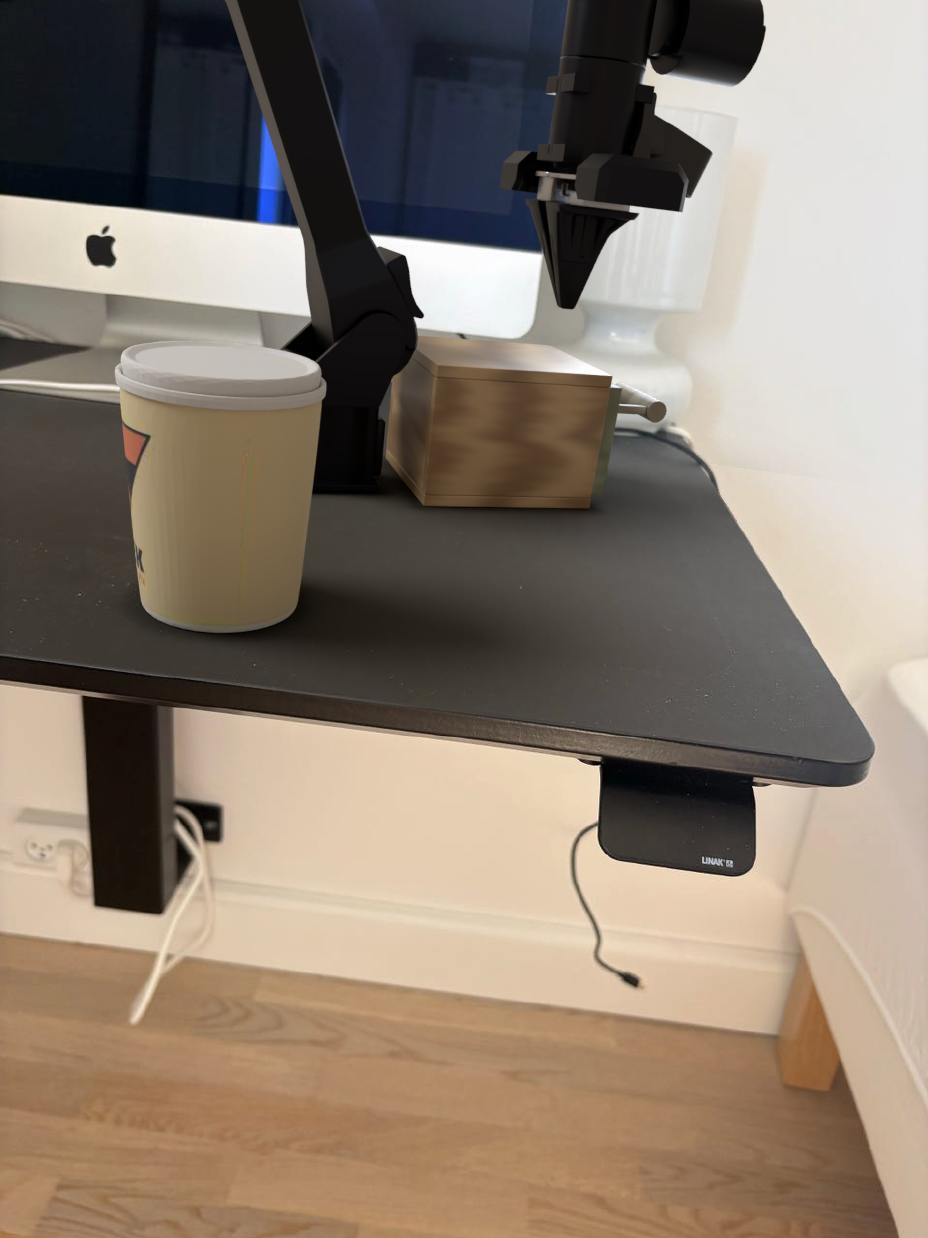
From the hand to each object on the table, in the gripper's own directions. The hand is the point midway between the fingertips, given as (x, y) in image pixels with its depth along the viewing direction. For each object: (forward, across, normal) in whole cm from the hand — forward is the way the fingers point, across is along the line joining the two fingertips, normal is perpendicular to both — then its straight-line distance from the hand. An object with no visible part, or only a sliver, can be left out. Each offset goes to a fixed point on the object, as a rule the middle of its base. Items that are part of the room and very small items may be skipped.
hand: (565, 308), depth 70 cm
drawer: (+12, -1, +1) cm, 12 cm away
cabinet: (+13, -1, +5) cm, 14 cm away
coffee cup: (+13, -22, +26) cm, 37 cm away
